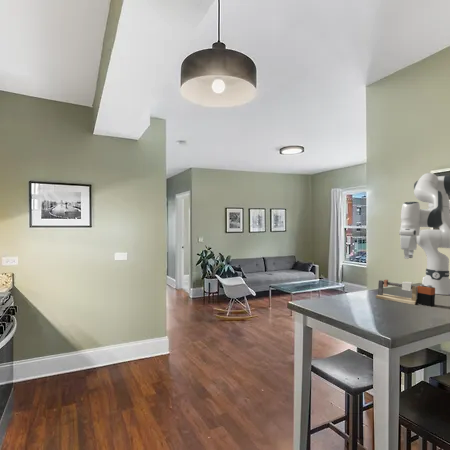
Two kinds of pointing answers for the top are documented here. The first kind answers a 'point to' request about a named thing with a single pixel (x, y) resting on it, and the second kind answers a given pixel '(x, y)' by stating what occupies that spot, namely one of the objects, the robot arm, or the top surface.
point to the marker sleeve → (406, 286)
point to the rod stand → (393, 297)
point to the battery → (426, 295)
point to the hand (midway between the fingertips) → (408, 258)
